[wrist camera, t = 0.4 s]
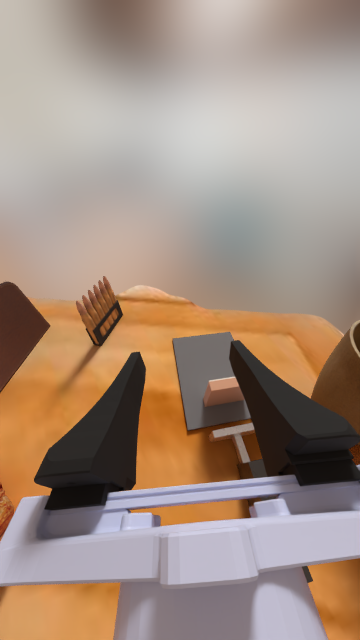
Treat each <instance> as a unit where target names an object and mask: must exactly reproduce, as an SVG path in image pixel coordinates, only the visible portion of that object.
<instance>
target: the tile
mask: <svg viewBox="0 0 360 640" xmlns="http://www.w3.org/2000/svg"><path fill="white" fill-rule="evenodd" d="M241 400H244V396H243V394H242V392H241V389H240V387H239V385H238V382H237V380H236V378H235V377H229V378H222V379H216V380H210V381H209V382H208V385H207V388H206V391H205V394H204V397H203V401H204V405H205V407H207V406H213V405H219V404H224V403H230V402H236V401H241Z"/></svg>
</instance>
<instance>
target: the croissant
mask: <svg viewBox="0 0 360 640" xmlns="http://www.w3.org/2000/svg"><path fill="white" fill-rule="evenodd" d="M13 514H14V507H13V505H12V503H11V501H10V500H9V499H8V497H7V496H6V495H5V491H4V490H3V489H2V484H1V483H0V541H1V539H2V537H3V535H4V533H5V531H6V529H7V527H8V525H9V523H10V521H11V519H12V517H13Z"/></svg>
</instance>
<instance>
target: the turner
mask: <svg viewBox="0 0 360 640" xmlns="http://www.w3.org/2000/svg"><path fill="white" fill-rule="evenodd" d="M254 433H255V430H254V426H253V423H249V424H244V425H239V426H234V427H229V428H224V429H219V430H214V431H212V432H211V433H210V435H209V436H208V437H209V441H210V442H215V441H220V440H225V439H230V438H232V440H233V443H234V446H235V449H236V453H237V456H238V459H239V462H240V464H238V465H237V467H238V470H239V474H240V477H241V480H244V479H254V478H264V477H268V476H267V474H266V470H265V466H264V462H263V459H260V460H255V461H251V462H250V459H249V457H248V454H247V451H246V448H245V445H244V442H243V440H242V437H241V436H244V435H249V434H254ZM276 497H277V496H271V497H260V498H250V499H247V500H248V503H249V506H250V507H251V506H253V505H254V503H255V502H260V501H266V500H272V499H276ZM302 569H303V572H304V575H305V577H306V580H307V583H309V582H312V581H313V579H312V577H311V574H310V572H309V569H308V567H307V566H302Z"/></svg>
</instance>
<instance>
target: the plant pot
mask: <svg viewBox="0 0 360 640" xmlns="http://www.w3.org/2000/svg"><path fill="white" fill-rule="evenodd" d="M311 399H312V400H313V401H315V402H317V403H319V404H320V405H322V406H324V407H326V408H328V409H329V410H331V411H333V412H335V413H337V414H339V415H341V416H342V417H344V418H345V419H346V420H347V421H348V422H349V423H350V424H351V425H352V427H353V428H354V429H355V430H356V432H357V433H358V434H359V435H360V320H358V321H357V322H355V323H354V324H353V325H352V326H351V328H350V329H349V330H348V332H347V333H346V334H345V335H344V337H343V338H342V339H341V341H340V342H339V343H338V345H337V346H336V348H335V349H334V350H333V352H332V353H331V355H330V356H329V358H328V360H327V361H326V363H325V365H324V367H323V369H322V370H321V372H320V375H319V377H318V379H317V382H316V384H315V387H314V390H313V393H312V397H311ZM357 445H360V442H359V443H358V444H357Z"/></svg>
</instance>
